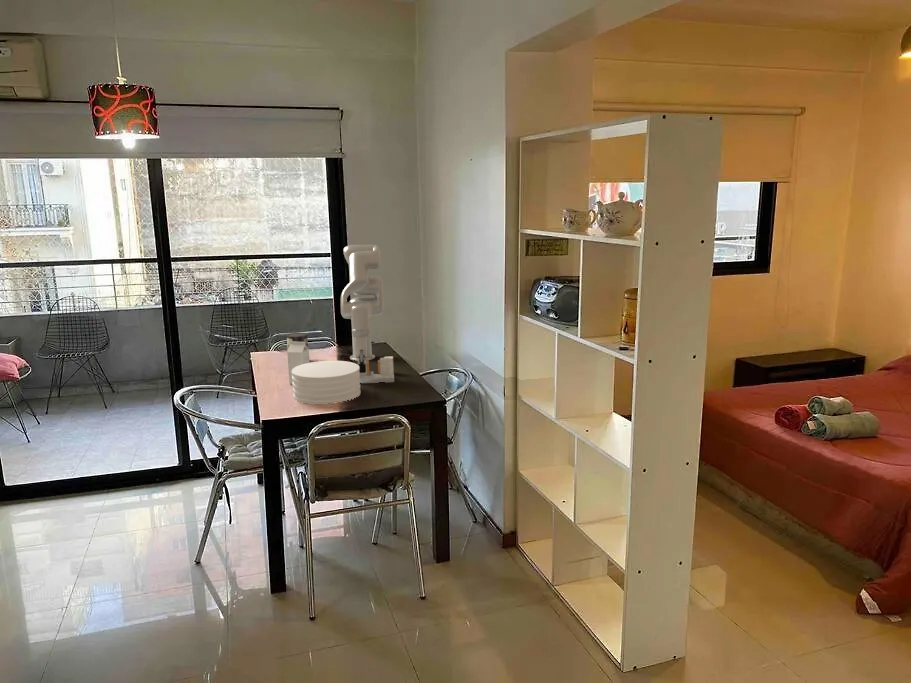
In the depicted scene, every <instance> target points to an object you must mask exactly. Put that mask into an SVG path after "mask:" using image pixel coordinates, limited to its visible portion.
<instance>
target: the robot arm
mask: <svg viewBox="0 0 911 683" xmlns="http://www.w3.org/2000/svg"><path fill="white" fill-rule="evenodd" d="M343 255H344V259H345V260H346V261H345V262H346V263H347V264H348V267H349V269H348V271H349V283H347V284H346V286H344V289H342V292H341V294H340V314H341V316H342V318H343V319H347V320H348V319H349V320H351V322H350V323H351V336H352V337H351V338H352V339H351V340H352V355H350V356H349V359H350V360H352V361H354V360H355V361H354V362H358V361H357V360H358V359H359V364H358V363H357V365H359V368H360V370H359V372H360V373H366V364H365V359H366V358H367V361H372V360H374V359H375V358H376V355H375V354H374V353H372V351H373V350H372V349H373V348H372V328H371V327H372V325H371V323H370V318H371V317H373V316H374V317H375V316H381V315H383V314H384V311H385V298H384V294H385V293H384V281H383V278H382V277H381V276H379V275H369V270H377V269H380V267H381V262H382V258H381V257H382V256H381V249H380V247H379V245H377V244H349V245H346V246H345V247H344V248H343ZM351 294H353V295H354V296H357V297H352V298H351V299H350V300H349V301H348V300H347V299H348V298H349V296H350V295H351Z"/></svg>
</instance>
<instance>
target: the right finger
mask: <svg viewBox="0 0 911 683" xmlns="http://www.w3.org/2000/svg"><path fill="white" fill-rule="evenodd" d="M356 362H357V365H358V364H359V359H358V360H357V361H356ZM365 364H366V373H360V376H364V375H367V373H369V372H370V360H367V358H366V359H365Z"/></svg>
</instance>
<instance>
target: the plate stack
mask: <svg viewBox="0 0 911 683" xmlns="http://www.w3.org/2000/svg"><path fill="white" fill-rule="evenodd" d="M359 370H360V368H359V365H358V363H355V362H351V361H348V360H347V361H345V360H319V361H313V362H312V361H311V362H310V363H306V364H302V365H299V366H296V367H295V368H293V369H292V375H293V376H292V381H293V382H292V384H291V385H292V393H293V394H292V396H293V398H292V399H294V401H296V400H297V401H296V402H298V401H299V402H298V403H301V402H303V403H302V404H305V403H311V404H310V405H315V404H324V405H328V404H327V403H334V402H341V403H343V402H342V401H346V402H348V401H347V400H349V401H351V399H352V400H355V399H356V397H357V398H358V397H359V396H360V395H361V384H360V378H359V377H360V372H359ZM354 398H355V399H354Z"/></svg>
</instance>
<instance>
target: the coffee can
mask: <svg viewBox="0 0 911 683" xmlns="http://www.w3.org/2000/svg"><path fill="white" fill-rule="evenodd" d="M290 341H295V342H305V344H306V346H307V347H308V348H309V342H308V341H309V340H308V333H306V332H292V333H287V334H286V343H287V344H286V345H287V346H286V347H287V350H288V349H289V346H290Z"/></svg>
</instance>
